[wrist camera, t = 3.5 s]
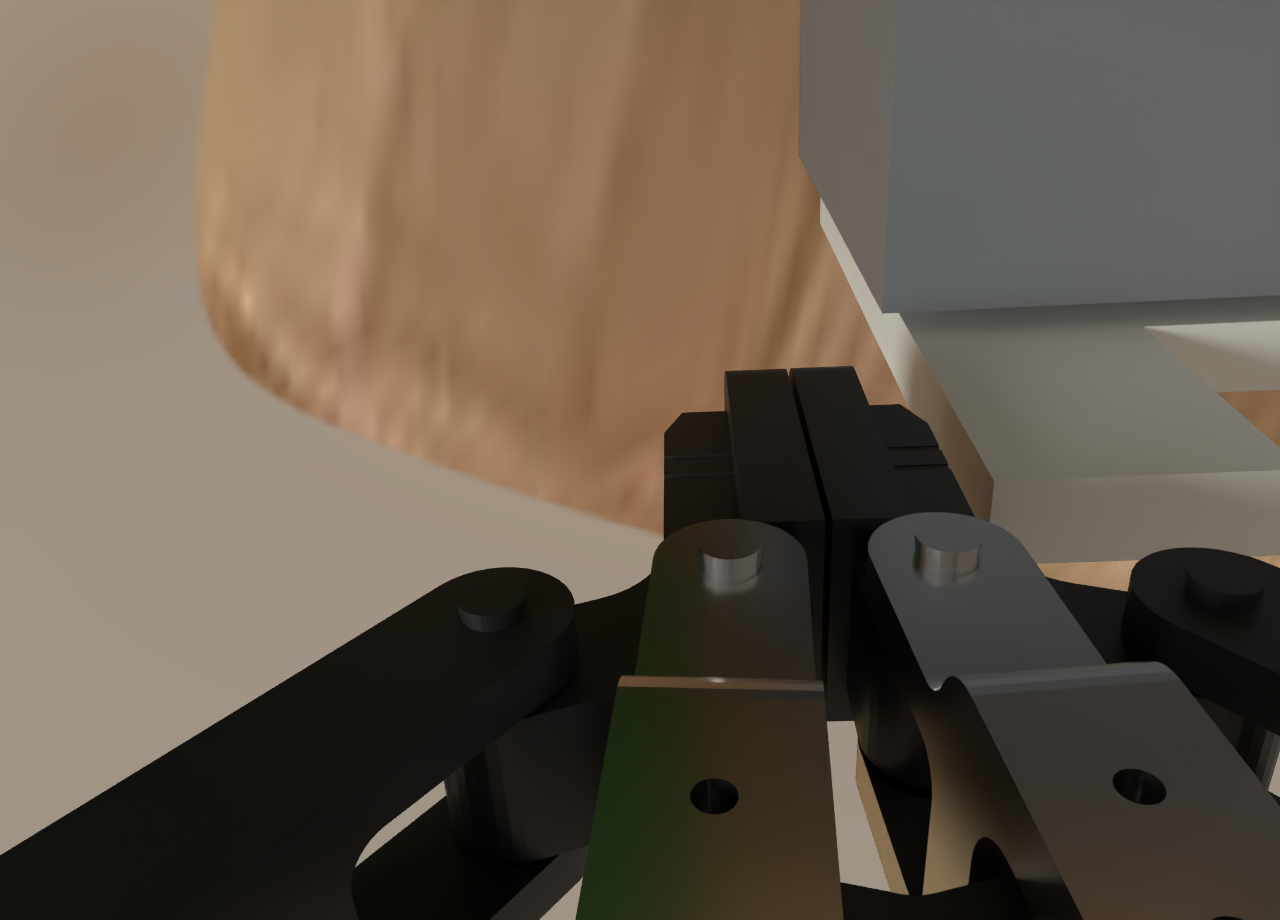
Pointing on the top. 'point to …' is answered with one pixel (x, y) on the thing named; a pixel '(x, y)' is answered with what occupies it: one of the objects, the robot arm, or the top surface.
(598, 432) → the top surface
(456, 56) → the top surface
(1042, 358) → the side door
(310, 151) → the top surface
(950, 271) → the camera housing
